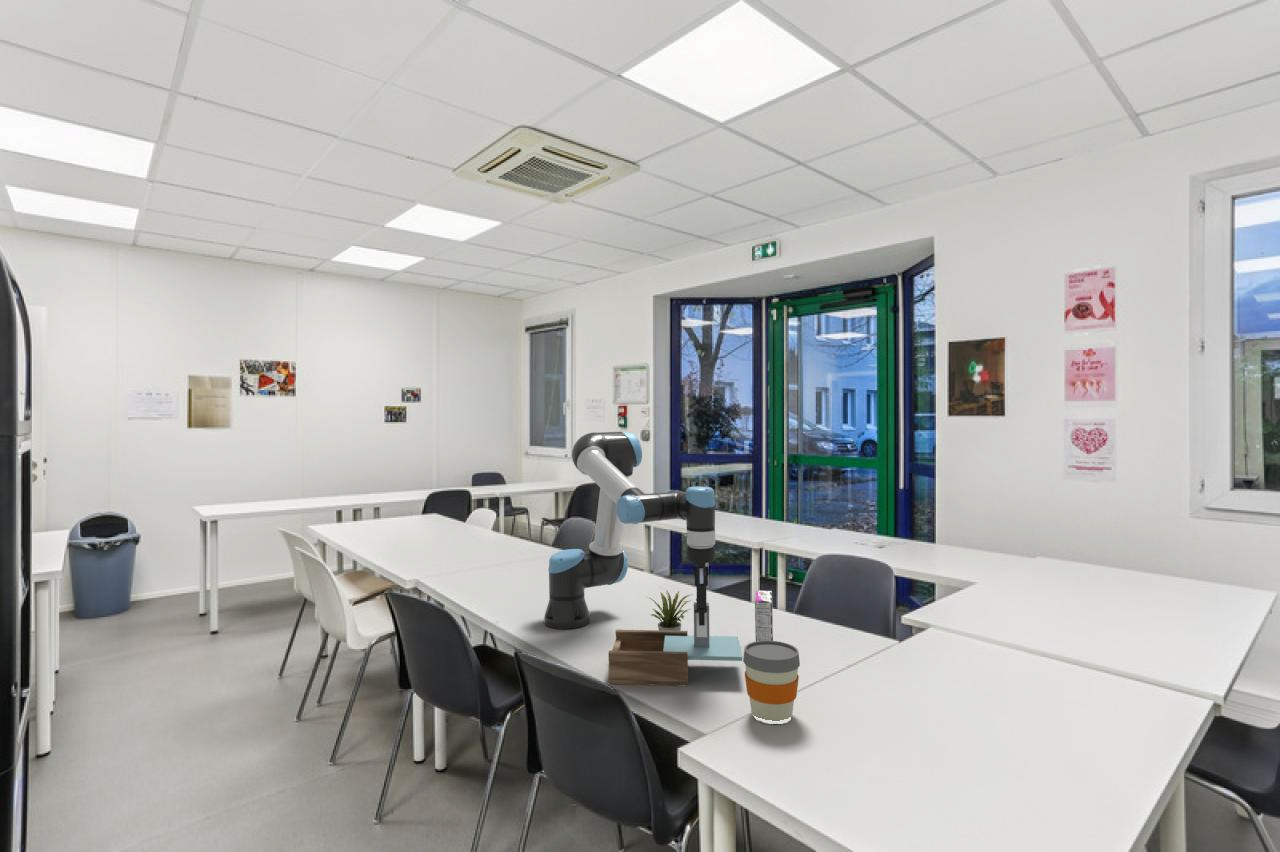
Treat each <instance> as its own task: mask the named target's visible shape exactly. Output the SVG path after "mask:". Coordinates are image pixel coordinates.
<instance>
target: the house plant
mask: <svg viewBox="0 0 1280 852" xmlns="http://www.w3.org/2000/svg"><path fill="white" fill-rule="evenodd" d="M665 590H666V591H665V594H666V596H665V594H664V593H663V592H660V596H661V600H662V601H661V602H662V607H661V605H660V604H659V603H657V601H655V600H654V599H653V598H651V597H648V596H647V598H648V599H649V600H650V601H652V602H653V603H654V604H655V605H656V606H657V607H658V609H659V610H660V611H658V610H656V609H655V608H652V610H653V611H654V612H655V614H653V613H652V614H650V616H651V617H655V618H657V619H658V620H659V621H660V622H658V623H657V630H662V631H682V620H684V619H685V615H684V614H685V613H689V612H688V611H690V610H691V608H688V609H686V610H684V609H682V608H683V607H684V606H685V605H686V604H687V603H689V602H690V600H685V599H687V598H688V597H690V596H694V594H687V595H685V596H684V597H682V598H681V599H680V601H679V602H678V599H679V595H680V590H678V591H677V592H676V593H675V596H674V598H673V599H672V598H671V594H670V593H669V591H668V590H667V589H665ZM666 597H667V598H666ZM677 602H678V603H677ZM681 604H682V605H681ZM679 607H680V608H679ZM677 610H678V611H677ZM680 613H681V614H680ZM679 614H680V615H679ZM678 615H679V616H678ZM680 618H681V619H682V620H681V619H680Z"/></svg>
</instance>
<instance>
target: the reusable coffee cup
mask: <svg viewBox="0 0 1280 852" xmlns="http://www.w3.org/2000/svg"><path fill="white" fill-rule="evenodd" d="M743 649H744V651H743V658H742V662H743V664H744V665H745V666H744V667H745V671H744V679H745V685H746V686H745V687H746V693H747V695H748V697H749V702H750V712H751V715H752V714H753V715H754V716H756V717H758V718H762V719H765V720H772V721H780V720H784V719H788V718H789V717H791V716H792V717H793V711H794V704H795V700H796V699H797V695H798V686H799V677H800V676H799V674H798V672H799V671H798V670H799V667H800V665H801V663H800V654H799V649H798V648H797V647H796V646H794V645H793V644H790V643H787V642H782V641H776V640H773V641H756V640H755V641H753V642H750V643H747V644H746V645H745V646H744V648H743Z"/></svg>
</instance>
